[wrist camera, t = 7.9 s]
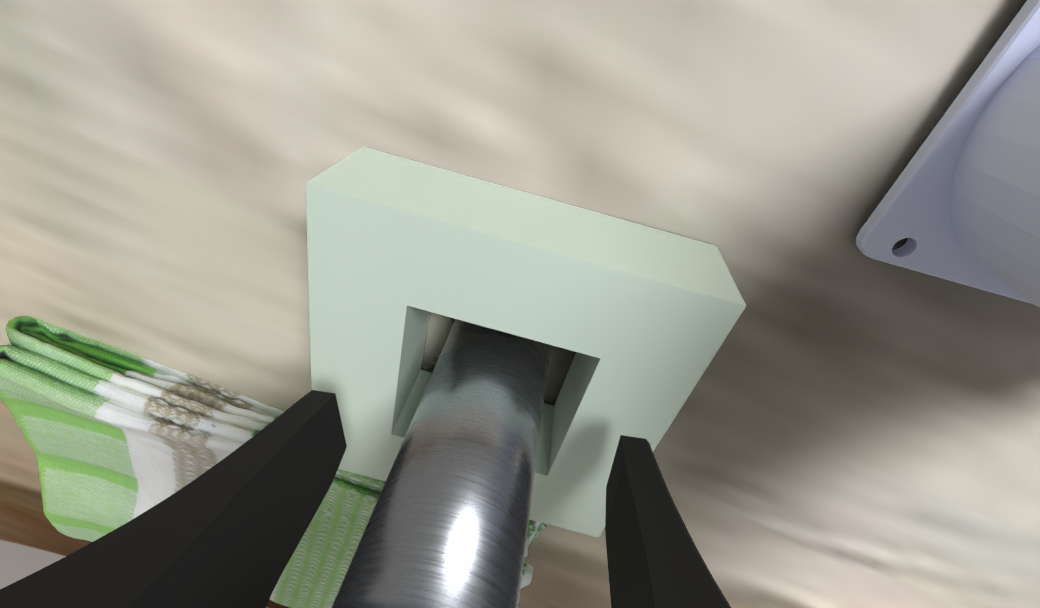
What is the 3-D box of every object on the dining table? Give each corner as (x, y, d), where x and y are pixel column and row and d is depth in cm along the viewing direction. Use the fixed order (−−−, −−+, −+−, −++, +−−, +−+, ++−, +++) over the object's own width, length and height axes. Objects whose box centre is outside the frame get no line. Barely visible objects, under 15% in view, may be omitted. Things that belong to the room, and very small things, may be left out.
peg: (548, 287, 14) (498, 607, 7) (555, 367, 16) (521, 692, 9) (447, 290, 15) (299, 588, 7) (464, 367, 16) (359, 672, 9)
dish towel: (451, 631, 30) (436, 699, 27) (89, 515, 28) (30, 575, 25) (560, 491, 21) (555, 572, 18) (24, 296, 18) (-83, 353, 15)
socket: (716, 245, 13) (746, 305, 10) (597, 464, 18) (598, 537, 16) (363, 146, 13) (306, 183, 10) (351, 398, 18) (313, 462, 16)
